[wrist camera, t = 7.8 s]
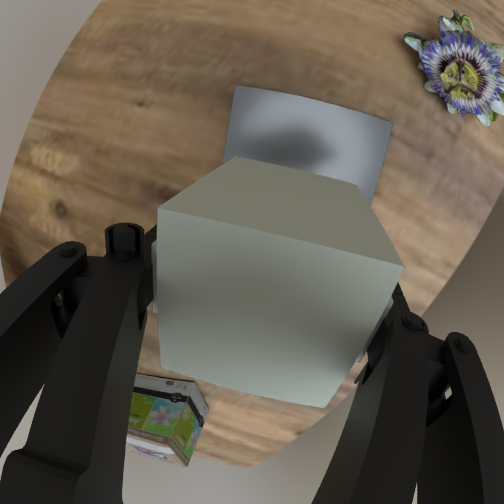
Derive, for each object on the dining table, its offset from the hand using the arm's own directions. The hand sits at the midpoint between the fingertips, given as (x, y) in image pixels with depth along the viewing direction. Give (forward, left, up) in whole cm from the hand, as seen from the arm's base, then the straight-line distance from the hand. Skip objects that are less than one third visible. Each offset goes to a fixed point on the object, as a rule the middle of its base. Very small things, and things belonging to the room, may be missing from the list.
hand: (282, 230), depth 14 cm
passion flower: (+14, +17, -17) cm, 28 cm away
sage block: (0, 0, 0) cm, 0 cm away
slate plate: (0, 0, -17) cm, 17 cm away
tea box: (-14, -46, -17) cm, 51 cm away
